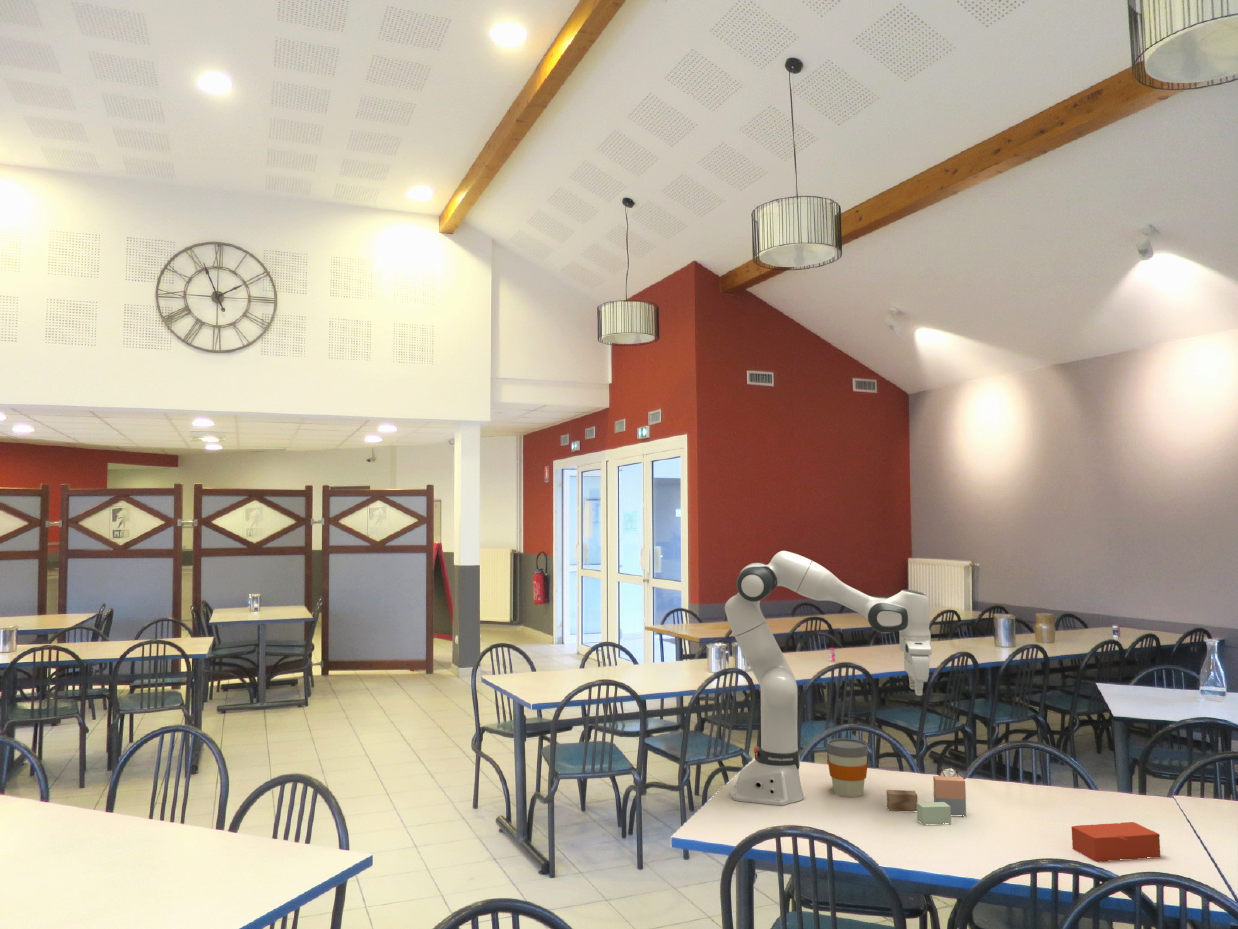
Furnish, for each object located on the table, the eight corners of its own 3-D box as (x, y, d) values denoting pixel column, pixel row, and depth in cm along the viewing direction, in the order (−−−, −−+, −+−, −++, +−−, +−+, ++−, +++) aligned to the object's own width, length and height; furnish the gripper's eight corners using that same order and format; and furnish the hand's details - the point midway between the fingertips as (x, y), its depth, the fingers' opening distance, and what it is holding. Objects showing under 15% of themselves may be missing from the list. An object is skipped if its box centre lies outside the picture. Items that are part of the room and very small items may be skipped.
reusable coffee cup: (819, 789, 271) (818, 741, 272) (850, 784, 276) (849, 736, 277) (845, 801, 259) (844, 750, 260) (878, 795, 264) (876, 745, 266)
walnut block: (889, 811, 250) (888, 794, 250) (887, 807, 254) (886, 789, 254) (917, 812, 249) (917, 795, 249) (915, 808, 253) (914, 791, 253)
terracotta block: (936, 797, 247) (935, 780, 247) (933, 793, 250) (933, 776, 251) (965, 799, 245) (965, 781, 246) (962, 795, 249) (962, 777, 249)
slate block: (936, 815, 246) (936, 798, 246) (934, 811, 250) (933, 793, 250) (966, 817, 245) (965, 799, 245) (963, 812, 249) (962, 795, 249)
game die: (957, 807, 264) (973, 786, 259) (931, 797, 264) (946, 776, 260) (953, 785, 272) (969, 764, 267) (928, 775, 272) (942, 754, 267)
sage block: (923, 825, 238) (922, 807, 239) (917, 820, 242) (916, 802, 243) (951, 825, 239) (950, 806, 239) (944, 820, 243) (944, 802, 243)
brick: (1134, 845, 223) (1133, 821, 224) (1161, 858, 215) (1160, 834, 215) (1071, 849, 221) (1070, 825, 221) (1096, 863, 212) (1094, 838, 212)
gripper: (898, 639, 267) (899, 685, 266) (909, 649, 246) (910, 698, 246) (919, 640, 266) (920, 685, 265) (932, 650, 245) (933, 699, 244)
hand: (916, 692), depth 255 cm, fingers open, 8 cm apart
